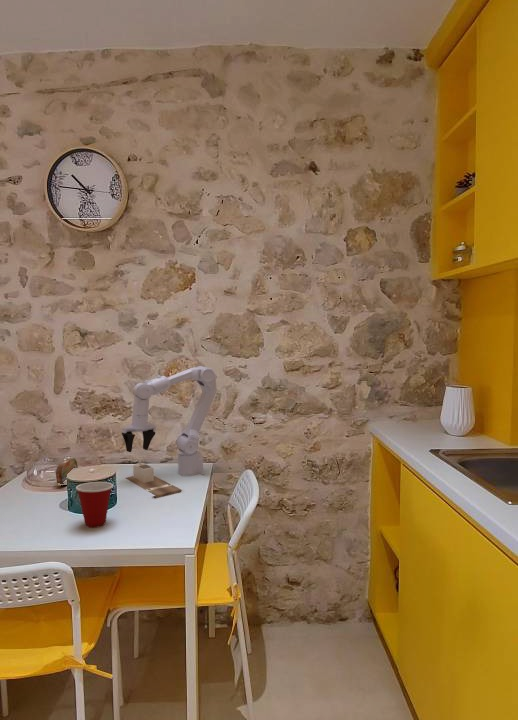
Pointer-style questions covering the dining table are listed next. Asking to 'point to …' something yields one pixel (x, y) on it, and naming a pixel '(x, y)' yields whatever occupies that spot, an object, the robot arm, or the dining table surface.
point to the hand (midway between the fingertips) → (137, 450)
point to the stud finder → (143, 472)
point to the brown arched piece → (65, 469)
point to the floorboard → (156, 487)
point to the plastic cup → (94, 502)
